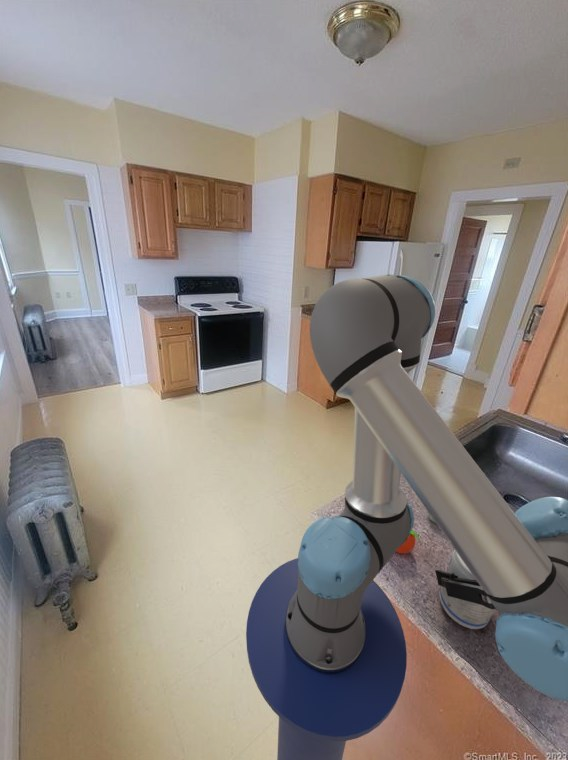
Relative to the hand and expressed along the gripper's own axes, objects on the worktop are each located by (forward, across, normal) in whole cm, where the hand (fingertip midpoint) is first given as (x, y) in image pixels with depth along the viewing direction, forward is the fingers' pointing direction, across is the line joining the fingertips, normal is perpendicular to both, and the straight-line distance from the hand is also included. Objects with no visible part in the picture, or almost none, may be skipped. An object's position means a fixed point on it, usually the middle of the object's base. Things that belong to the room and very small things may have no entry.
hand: (460, 574), depth 68 cm
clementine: (+13, -6, +4) cm, 15 cm away
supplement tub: (+2, 0, -6) cm, 7 cm away
